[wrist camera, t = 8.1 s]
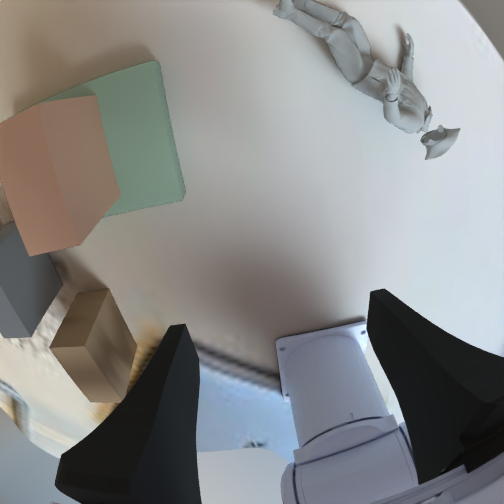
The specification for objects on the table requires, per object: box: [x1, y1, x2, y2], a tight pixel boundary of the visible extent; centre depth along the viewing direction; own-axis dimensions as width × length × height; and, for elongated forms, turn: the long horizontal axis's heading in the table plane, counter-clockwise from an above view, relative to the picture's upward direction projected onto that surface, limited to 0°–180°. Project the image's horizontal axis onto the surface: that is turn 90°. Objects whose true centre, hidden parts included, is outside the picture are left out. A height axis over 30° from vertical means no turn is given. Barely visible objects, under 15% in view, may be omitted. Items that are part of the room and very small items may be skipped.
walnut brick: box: [49, 289, 137, 403], centre depth 20 cm, size 6×3×6 cm, turn 8°
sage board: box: [8, 60, 186, 218], centre depth 16 cm, size 8×10×2 cm
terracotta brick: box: [0, 95, 121, 256], centre depth 12 cm, size 6×3×6 cm, turn 8°
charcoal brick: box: [0, 221, 63, 338], centre depth 17 cm, size 6×3×6 cm, turn 8°
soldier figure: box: [273, 0, 460, 160], centre depth 14 cm, size 8×5×12 cm
